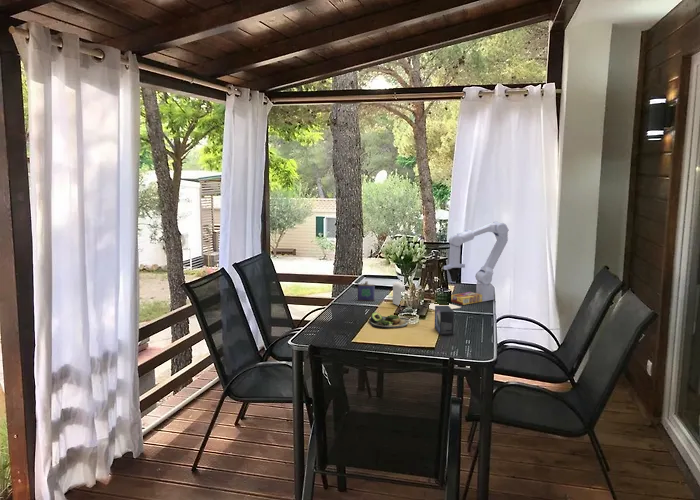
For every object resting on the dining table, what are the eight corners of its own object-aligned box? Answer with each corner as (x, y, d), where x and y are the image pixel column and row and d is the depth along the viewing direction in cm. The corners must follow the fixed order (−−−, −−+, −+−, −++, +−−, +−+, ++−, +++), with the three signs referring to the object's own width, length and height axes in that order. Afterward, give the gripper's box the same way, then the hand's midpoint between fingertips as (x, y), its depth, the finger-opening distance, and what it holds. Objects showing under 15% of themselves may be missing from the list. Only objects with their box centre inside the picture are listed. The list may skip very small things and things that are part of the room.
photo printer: (391, 303, 289) (392, 280, 287) (398, 302, 291) (398, 280, 289) (401, 307, 280) (402, 284, 278) (408, 307, 282) (409, 283, 280)
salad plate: (403, 317, 261) (404, 308, 261) (416, 328, 244) (416, 318, 244) (365, 319, 257) (365, 310, 256) (375, 330, 240) (375, 320, 239)
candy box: (462, 305, 287) (482, 301, 295) (463, 298, 286) (482, 294, 294) (450, 302, 294) (470, 298, 302) (450, 294, 293) (470, 291, 302)
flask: (374, 300, 296) (374, 280, 294) (374, 301, 293) (374, 282, 292) (357, 299, 296) (357, 280, 295) (357, 301, 294) (357, 281, 292)
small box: (433, 327, 244) (434, 305, 242) (447, 327, 245) (448, 305, 243) (439, 334, 234) (440, 311, 232) (453, 334, 234) (454, 311, 233)
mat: (442, 302, 293) (442, 301, 293) (461, 307, 282) (461, 306, 281) (420, 305, 284) (420, 305, 284) (438, 311, 273) (438, 310, 273)
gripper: (458, 255, 303) (457, 278, 305) (439, 257, 295) (438, 281, 296) (468, 256, 297) (467, 281, 299) (449, 258, 289) (448, 283, 291)
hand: (453, 281), depth 297 cm, fingers closed
